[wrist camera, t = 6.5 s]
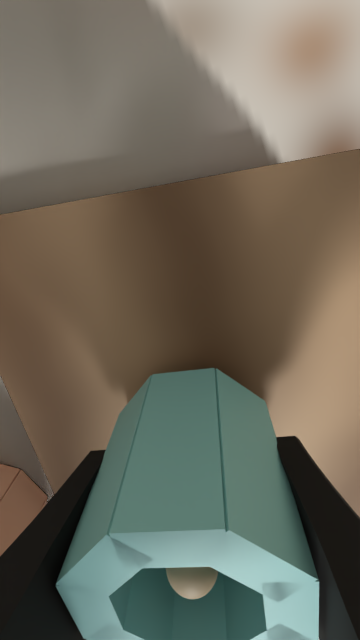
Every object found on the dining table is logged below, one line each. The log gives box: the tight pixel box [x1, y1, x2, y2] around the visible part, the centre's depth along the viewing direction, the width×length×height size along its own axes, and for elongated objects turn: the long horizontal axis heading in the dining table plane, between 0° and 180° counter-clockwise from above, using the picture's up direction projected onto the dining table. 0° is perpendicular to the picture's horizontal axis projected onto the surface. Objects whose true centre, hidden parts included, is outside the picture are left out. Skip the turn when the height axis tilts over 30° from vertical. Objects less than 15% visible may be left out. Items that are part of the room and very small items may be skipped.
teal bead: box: [56, 368, 319, 640], centre depth 8 cm, size 5×5×5 cm
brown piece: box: [0, 149, 360, 599], centre depth 9 cm, size 14×16×7 cm
